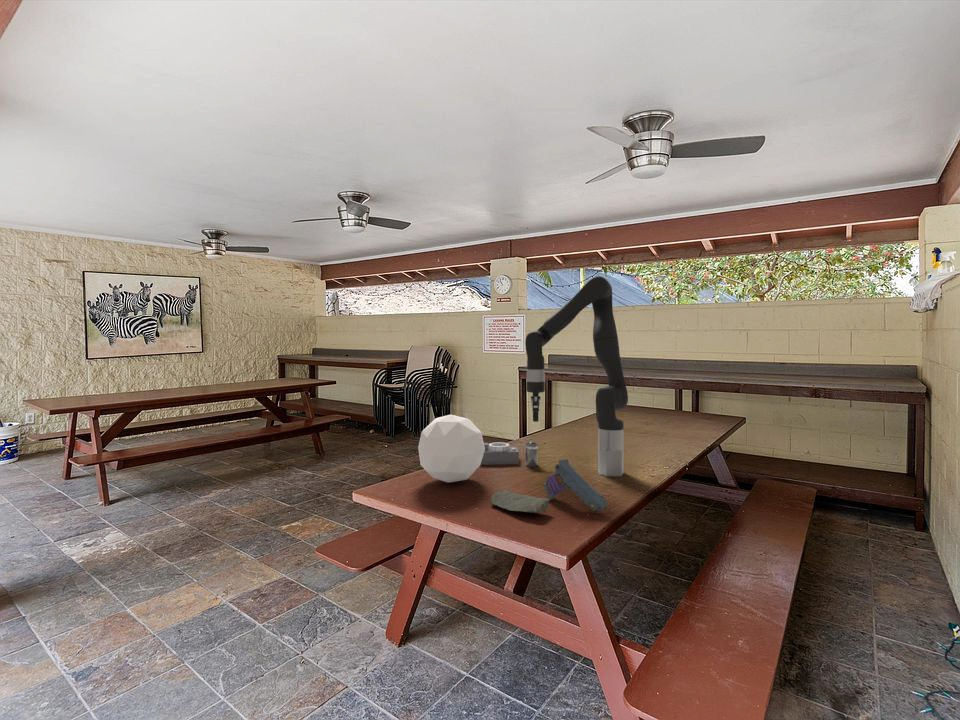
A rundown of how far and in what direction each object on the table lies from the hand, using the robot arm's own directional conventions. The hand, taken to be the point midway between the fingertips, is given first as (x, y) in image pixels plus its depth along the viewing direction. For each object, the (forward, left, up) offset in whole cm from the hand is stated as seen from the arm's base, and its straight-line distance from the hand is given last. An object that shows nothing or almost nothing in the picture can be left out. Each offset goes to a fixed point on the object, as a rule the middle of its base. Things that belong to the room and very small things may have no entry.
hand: (535, 419), depth 203 cm
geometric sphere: (-23, +33, -19) cm, 44 cm away
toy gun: (-45, -5, -22) cm, 50 cm away
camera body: (+4, +15, -19) cm, 25 cm away
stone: (-54, +14, -19) cm, 59 cm away
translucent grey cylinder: (-3, +2, -19) cm, 19 cm away
